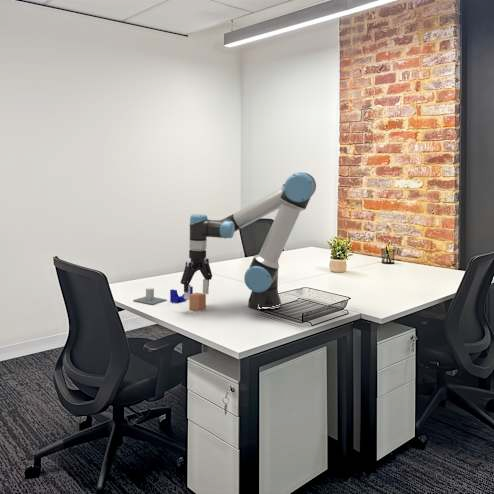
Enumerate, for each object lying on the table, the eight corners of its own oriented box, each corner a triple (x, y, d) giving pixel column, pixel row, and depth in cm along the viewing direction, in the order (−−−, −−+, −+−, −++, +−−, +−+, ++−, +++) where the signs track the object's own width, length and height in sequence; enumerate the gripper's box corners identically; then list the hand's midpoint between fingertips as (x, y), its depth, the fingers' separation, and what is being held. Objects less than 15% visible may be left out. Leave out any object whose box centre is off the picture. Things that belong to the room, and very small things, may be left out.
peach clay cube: (205, 308, 236) (205, 294, 235) (198, 311, 232) (198, 296, 231) (196, 307, 239) (196, 292, 238) (189, 309, 235) (189, 294, 234)
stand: (166, 300, 249) (166, 288, 248) (152, 305, 241) (152, 292, 240) (147, 297, 255) (147, 285, 255) (133, 301, 247) (132, 288, 246)
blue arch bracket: (177, 303, 245) (176, 291, 244) (170, 302, 247) (170, 289, 247) (194, 299, 254) (194, 287, 253) (188, 297, 257) (188, 285, 256)
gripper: (207, 245, 244) (206, 290, 247) (172, 251, 223) (171, 300, 226) (220, 247, 240) (219, 292, 243) (186, 253, 219) (185, 303, 222)
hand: (196, 296), depth 235 cm, fingers open, 13 cm apart
